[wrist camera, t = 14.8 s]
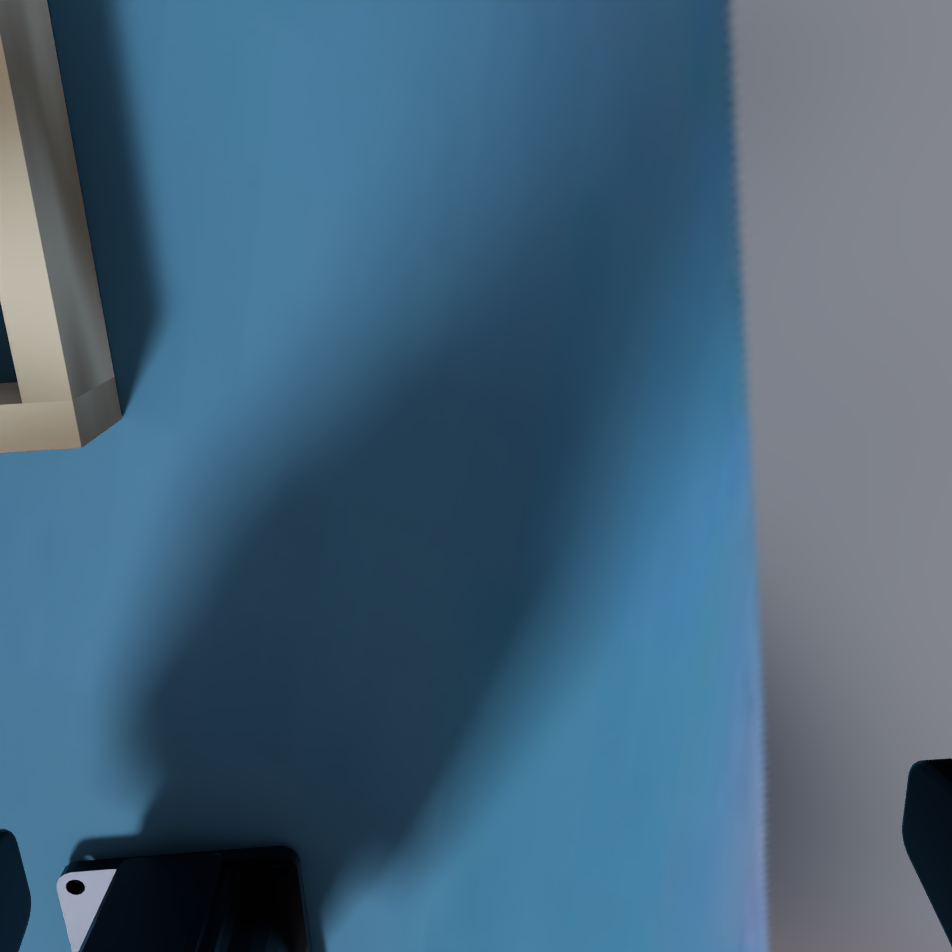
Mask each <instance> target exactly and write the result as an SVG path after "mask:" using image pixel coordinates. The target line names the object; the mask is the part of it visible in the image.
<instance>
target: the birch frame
mask: <svg viewBox="0 0 952 952" xmlns="http://www.w3.org/2000/svg"><path fill="white" fill-rule="evenodd" d="M0 302H1V306H2V311H3V316H4V320H5V325H6V330H7V334H8V339H9V344H10V348H11V353H12V358H13V362H14V367H15V371H16V376H17V381H18V382H12V383H0V453H4V452H20V451H37V450H53V449H69V448H82V447H83V446H85V445H86V444H87V443H89V442H90V441H92V440H93V439H94V438H96V437H97V436H99V435H100V434H101V433H103V432H104V431H106V430H107V429H108V428H110V427H111V426H113V425H114V424H115V423H117V422H118V421H119V420H121V419H122V415H121V410H120V404H119V399H118V393H117V387H116V382H115V376H114V371H113V365H112V360H111V354H110V348H109V343H108V337H107V332H106V326H105V321H104V315H103V309H102V304H101V298H100V293H99V287H98V282H97V276H96V271H95V265H94V259H93V254H92V248H91V243H90V237H89V232H88V226H87V220H86V215H85V209H84V204H83V198H82V193H81V187H80V181H79V176H78V170H77V165H76V159H75V154H74V148H73V142H72V137H71V131H70V126H69V120H68V115H67V109H66V103H65V98H64V92H63V87H62V81H61V76H60V70H59V64H58V59H57V53H56V48H55V42H54V37H53V31H52V25H51V20H50V14H49V9H48V3H47V0H0Z"/></svg>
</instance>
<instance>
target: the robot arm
mask: <svg viewBox="0 0 952 952" xmlns="http://www.w3.org/2000/svg"><path fill="white" fill-rule="evenodd" d="M902 834H903V841H904V845H905V848H906V851H907V854H908V856H909V858H910V860H911V862H912V864H913V866H914V869H915V871H916V873H917V875H918V877H919V879H920V881H921V883H922V885H923V887H924V889H925V892H926V894H927V896H928V898H929V900H930V902H931V904H932V906H933V908H934V910H935V912H936V914H937V917H938V919H939V921H940V923H941V925H942V927H943V929H944V931H945V933H946V936H947V937H948V939H949V942H950V944H951V946H952V759H950V758H949V759H935V760H922V761H918V762H916V763H914V764H913V765H912V767H911V769H910V771H909V776H908V783H907V791H906V799H905V808H904V816H903V824H902ZM275 864H283V865H285V866H286V867H285V868H278V867H276V866H274V865H275ZM73 880H79V881H81V882H82V883H83V884H79V883H76V882H75V881H73ZM57 892H58V896H59V900H60V904H61V908H62V912H63V916H64V920H65V924H66V928H67V933H68V937H69V941H70V945H71V949H72V952H312V946H311V939H310V932H309V924H308V917H307V910H306V902H305V895H304V888H303V881H302V873H301V866H300V859H299V857H298V854H297V853H296V852H295V851H294V850H293V849H291V848H289V847H286V846H273V847H260V848H247V849H234V850H221V851H208V852H195V853H182V854H169V855H156V856H144V857H131V858H118V859H105V860H92V861H79V862H74V863H70V864H69V865H68V866H66V867H65V869H64V871H63V872H62V874H61V876H60V878H59V880H58V882H57ZM30 911H31V896H30V890H29V886H28V883H27V879H26V875H25V871H24V867H23V863H22V859H21V855H20V851H19V848H18V844H17V841H16V838H15V836H14V835H13V834H12V832H10V831H8V830H6V829H0V952H18V951H19V948H20V945H21V943H22V940H23V937H24V934H25V931H26V928H27V925H28V921H29V917H30Z"/></svg>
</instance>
